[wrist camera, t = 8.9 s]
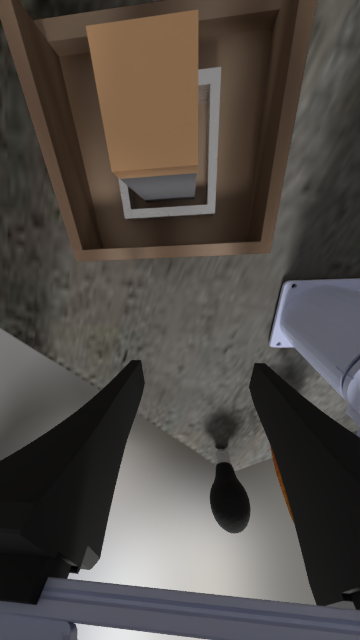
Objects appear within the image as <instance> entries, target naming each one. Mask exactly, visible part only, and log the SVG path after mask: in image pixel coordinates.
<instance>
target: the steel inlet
mask: <svg viewBox="0 0 360 640" xmlns="http://www.w3.org/2000/svg"><path fill="white" fill-rule="evenodd" d="M220 85H221V67H216V68H207V69H199V70H198V104H199V103H208V126H207V173H206V205H193V206H177V207H162V208H146V209H136V205H135V198H134V191H133V190H132V189H131V188H130V187H129V186H128V185H126V184H125V183H124V182H123V181H122V180H121V179H119V178H118V180H119V186H120V192H121V198H122V204H123V210H124V216H125V219H127V220H130V221H134V220H151V219H168V218H184V217H201V216H213V215H214V214H215V202H216V179H217V156H218V132H219V109H220Z"/></svg>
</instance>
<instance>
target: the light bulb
mask: <svg viewBox="0 0 360 640" xmlns="http://www.w3.org/2000/svg"><path fill="white" fill-rule="evenodd" d="M216 462H217V465H216V477H215V480H214V483H213V485H212V488H211V492H210V504H211V509H212V512H213V515H214V517H215V519H216V521H217V522H218V524H219V525H220V526H221V527H222V528H223V529H225V530H226V531H228V532H230V533H239V532H241V531H243V530H244V529H245V527H246V526H247V524H248V522H249V518H250V503H249V498H248V495H247V493H246V491H245V489H244V487H243V486H242V484H241V483H240V482H239V480H238V479H237V477H236V475H235V472H234V469H233V467H232V465H231V462H230V458H229V453H228V452H227V451H226V450H225V449H223V448H220V449H219V450H218V451H217V452H216Z"/></svg>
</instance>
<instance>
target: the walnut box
mask: <svg viewBox="0 0 360 640" xmlns="http://www.w3.org/2000/svg"><path fill="white" fill-rule="evenodd" d="M316 5H317V0H164V1H158V2H151V3H145V4H138V5H131V6H125V7H118V8H111V9H105V10H98V11H92V12H85V13H78V14H72V15H65V16H58V17H52V18H45V19H38V20H32V19H31V17H30V16H29V14H28V13H27V12H26V10H25V9H24V7H23V6H22V5H21V3H20V2H19V0H0V19H1V22H2V25H3V28H4V32H5V35H6V38H7V41H8V44H9V48H10V51H11V54H12V57H13V60H14V64H15V67H16V70H17V73H18V76H19V80H20V83H21V86H22V89H23V93H24V96H25V99H26V102H27V105H28V109H29V112H30V115H31V118H32V121H33V125H34V128H35V131H36V134H37V137H38V141H39V144H40V147H41V150H42V154H43V157H44V160H45V163H46V166H47V170H48V173H49V176H50V179H51V182H52V186H53V189H54V192H55V195H56V198H57V202H58V205H59V208H60V211H61V215H62V218H63V221H64V224H65V227H66V231H67V234H68V237H69V240H70V243H71V247H72V250H73V253H74V256H75V259H76V261H99V260H122V259H145V258H169V257H192V256H215V255H239V254H262V253H270V251H271V246H272V240H273V235H274V230H275V224H276V219H277V214H278V208H279V203H280V198H281V192H282V187H283V181H284V176H285V171H286V165H287V160H288V155H289V149H290V144H291V139H292V133H293V128H294V123H295V117H296V112H297V106H298V101H299V96H300V90H301V85H302V80H303V74H304V69H305V64H306V58H307V53H308V48H309V42H310V37H311V32H312V26H313V21H314V15H315V10H316ZM191 10H198V70H199V69H207V68H216V67H221V85H220V109H219V132H218V156H217V179H216V202H215V214H214V215H213V216H201V217H184V218H168V219H151V220H134V221H130V220H127V219H125V216H124V210H123V204H122V198H121V192H120V186H119V180H118V177H117V176H116V175H115V174H114V173H112V171H111V165H110V160H109V154H108V148H107V143H106V137H105V132H104V126H103V120H102V115H101V109H100V104H99V98H98V92H97V87H96V81H95V76H94V70H93V64H92V59H91V53H90V48H89V42H88V37H87V31H86V26H89V25H96V24H103V23H109V22H116V21H123V20H130V19H137V18H144V17H150V16H157V15H164V14H171V13H178V12H185V11H191ZM207 126H208V103H199V104H198V169H197V178H196V187H195V196H194V199H188V200H173V201H158V202H146V201H145V200H144V199H143V198H141V197H140V196H139V195H138V194H137V193H136V192H134V198H135V205H136V209H146V208H162V207H177V206H193V205H206V173H207Z"/></svg>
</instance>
